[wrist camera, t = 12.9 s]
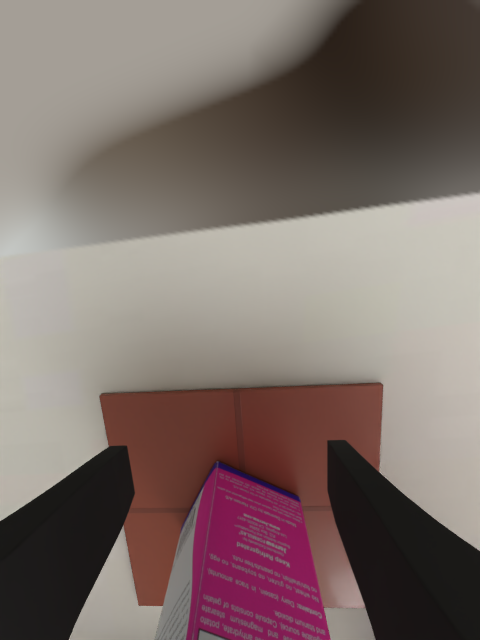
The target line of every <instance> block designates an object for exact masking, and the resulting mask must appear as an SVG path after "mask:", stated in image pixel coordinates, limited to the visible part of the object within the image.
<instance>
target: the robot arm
mask: <svg viewBox="0 0 480 640" xmlns="http://www.w3.org/2000/svg"><path fill="white" fill-rule="evenodd" d="M327 491H328V495H329V499H330V503H331V508H332V511H333V515H334V519H335V523H336V526H337V529H338V532H339V535H340V537H341V540H342V543H343V546H344V549H345V551H346V554H347V557H348V560H349V563H350V565H351V568H352V571H353V574H354V577H355V579H356V582H357V585H358V588H359V590H360V593H361V596H362V599H363V602H364V604H365V607H366V610H367V613H368V616H369V619H370V623H371V626H372V629H373V632H374V636H375V639H376V640H480V551H479V550H477V549H476V548H474V547H473V546H471V545H470V544H468V543H467V542H466V541H464V540H463V539H461V538H460V537H459V536H457V535H456V534H454V533H453V532H452V531H450V530H449V529H448V528H446V527H445V526H443V525H442V524H441V523H439V522H438V521H437V520H435V519H434V518H433V517H431V516H430V515H429V514H428V513H426V512H425V511H424V510H423V509H421V508H420V507H419V506H418V505H416V504H415V503H414V502H413V501H412V500H410V499H409V498H408V497H407V496H405V495H404V494H403V493H402V492H401V491H400V490H398V489H397V488H396V487H395V486H394V485H393V484H392V483H390V482H389V481H388V480H387V479H386V478H385V477H384V476H383V475H382V474H381V473H379V472H378V471H377V470H376V469H375V468H374V467H373V466H372V465H371V464H370V463H369V462H368V461H367V460H366V459H365V458H364V457H363V456H362V455H361V454H360V453H358V452H357V451H356V450H355V449H354V448H353V447H352V446H351V445H350V444H349V443H348V442H347V441H346V440H327ZM134 495H135V489H134V483H133V477H132V471H131V466H130V460H129V454H128V448H127V445H122V446H110V447H108V448H107V449H105V450H104V451H102V452H101V453H99V454H98V455H96V456H95V457H93V458H92V459H91V460H89V461H88V462H86V463H85V464H84V465H82V466H81V467H79V468H78V469H77V470H75V471H74V472H73V473H71V474H70V475H68V476H67V477H66V478H64V479H63V480H61V481H60V482H59V483H57V484H56V485H54V486H53V487H51V488H50V489H48V490H47V491H46V492H44V493H43V494H41V495H40V496H38V497H37V498H35V499H34V500H32V501H31V502H29V503H28V504H26V505H25V506H23V507H22V508H20V509H19V510H17V511H16V512H14V513H13V514H11V515H9V516H8V517H6V518H5V519H3V520H1V521H0V640H69V637H70V635H71V633H72V630H73V628H74V625H75V623H76V621H77V619H78V617H79V614H80V612H81V610H82V608H83V606H84V604H85V602H86V600H87V598H88V596H89V594H90V592H91V590H92V588H93V586H94V584H95V582H96V580H97V578H98V576H99V574H100V572H101V570H102V568H103V566H104V564H105V562H106V560H107V558H108V556H109V554H110V552H111V550H112V548H113V546H114V544H115V541H116V539H117V537H118V535H119V533H120V531H121V529H122V527H123V525H124V523H125V520H126V517H127V515H128V512H129V509H130V506H131V504H132V501H133V498H134Z"/></svg>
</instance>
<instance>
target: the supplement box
mask: <svg viewBox="0 0 480 640" xmlns="http://www.w3.org/2000/svg"><path fill="white" fill-rule="evenodd" d="M155 640H331V639H330V635H329V630H328V626H327V621H326V616H325V612H324V607H323V603H322V598H321V594H320V589H319V584H318V579H317V575H316V570H315V566H314V561H313V556H312V552H311V547H310V542H309V538H308V533H307V529H306V524H305V519H304V515H303V510H302V505H301V500H300V497H298V496H296V495H294V494H291V493H289V492H287V491H284V490H282V489H279V488H277V487H275V486H273V485H270V484H268V483H266V482H263V481H261V480H259V479H257V478H254V477H252V476H250V475H248V474H245V473H243V472H241V471H239V470H236V469H234V468H232V467H230V466H228V465H226V464H224V463H221V462H220V461H216V463H215V464H214V466H213V467H212V469H211V471H210V473H209V475H208V476H207V478H206V480H205V482H204V484H203V486H202V488H201V490H200V492H199V493H198V495H197V497H196V499H195V501H194V503H193V505H192V507H191V509H190V511H189V513H188V515H187V517H186V519H185V521H184V523H183V525H182V527H181V531H180V537H179V541H178V545H177V550H176V554H175V558H174V562H173V567H172V571H171V575H170V579H169V583H168V588H167V592H166V595H165V600H164V604H163V608H162V612H161V616H160V620H159V624H158V628H157V632H156V636H155Z"/></svg>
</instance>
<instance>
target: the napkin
mask: <svg viewBox="0 0 480 640" xmlns="http://www.w3.org/2000/svg"><path fill="white" fill-rule="evenodd" d="M99 397H100V402H101V407H102V413H103V418H104V423H105V429H106V434H107V439H108V445H109V447H110V446H122V445H127V448H128V454H129V460H130V466H131V471H132V477H133V483H134V489H135V495H134V498H133V501H132V504H131V506H130V509H129V512H128V515H127V517H126V520H125V523H124V530H125V535H126V541H127V546H128V551H129V557H130V562H131V567H132V573H133V578H134V583H135V589H136V594H137V599H138V605H139V606H163V604H164V600H165V595H166V592H167V588H168V583H169V579H170V575H171V571H172V567H173V562H174V558H175V554H176V550H177V545H178V541H179V537H180V531H181V527H182V525H183V523H184V521H185V519H186V517H187V515H188V513H189V511H190V509H191V507H192V505H193V503H194V501H195V499H196V497H197V495H198V493H199V492H200V490H201V488H202V486H203V484H204V482H205V480H206V478H207V476H208V475H209V473H210V471H211V469H212V467H213V466H214V464H215V463H216V461H220V462H221V463H224V464H226V465H228V466H230V467H232V468H234V469H236V470H239V471H241V472H243V473H245V474H248V475H250V476H252V477H254V478H257V479H259V480H261V481H263V482H266V483H268V484H270V485H273V486H275V487H277V488H279V489H282V490H284V491H287V492H289V493H291V494H294V495H296V496H298V497H300V500H301V505H302V510H303V515H304V519H305V524H306V529H307V533H308V538H309V542H310V547H311V552H312V556H313V561H314V566H315V570H316V575H317V579H318V584H319V589H320V594H321V598H322V603H323V607H324V608H366V607H365V604H364V602H363V599H362V596H361V593H360V590H359V588H358V585H357V582H356V579H355V577H354V574H353V571H352V568H351V565H350V563H349V560H348V557H347V554H346V551H345V549H344V546H343V543H342V540H341V537H340V535H339V532H338V529H337V526H336V523H335V519H334V515H333V511H332V508H331V503H330V499H329V495H328V491H327V440H346V441H347V442H348V443H349V444H350V445H351V446H352V447H353V448H354V449H355V450H356V451H357V452H358V453H360V454H361V455H362V456H363V457H364V458H365V459H366V460H367V461H368V462H369V463H370V464H371V465H372V466H373V467H374V468H375V469H376V470H377V471H378V472H379V464H380V441H381V419H382V397H383V385H382V384H381V383H367V384H341V385H316V386H290V387H264V388H239V389H213V390H188V391H162V392H136V393H111V394H101V395H100V396H99Z"/></svg>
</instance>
